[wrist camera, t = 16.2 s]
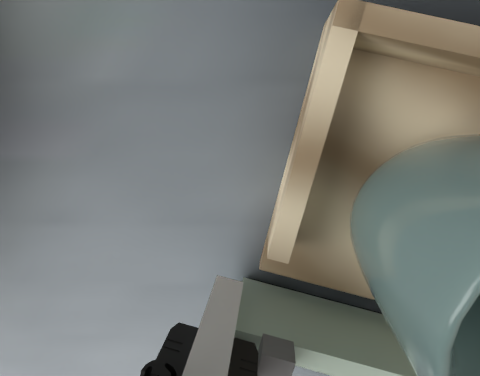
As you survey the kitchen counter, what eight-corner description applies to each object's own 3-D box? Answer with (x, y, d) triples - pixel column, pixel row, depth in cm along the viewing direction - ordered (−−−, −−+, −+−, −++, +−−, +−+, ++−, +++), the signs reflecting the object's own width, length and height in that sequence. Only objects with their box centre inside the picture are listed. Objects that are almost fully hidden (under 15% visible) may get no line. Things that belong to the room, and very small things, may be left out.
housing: (324, 24, 14) (340, -4, 11) (622, 90, 14) (736, 81, 10) (259, 261, 18) (256, 295, 14) (498, 323, 17) (554, 375, 14)
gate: (244, 274, 18) (231, 345, 12) (445, 327, 17) (528, 427, 12) (238, 294, 18) (224, 372, 13) (436, 347, 17) (512, 453, 12)
